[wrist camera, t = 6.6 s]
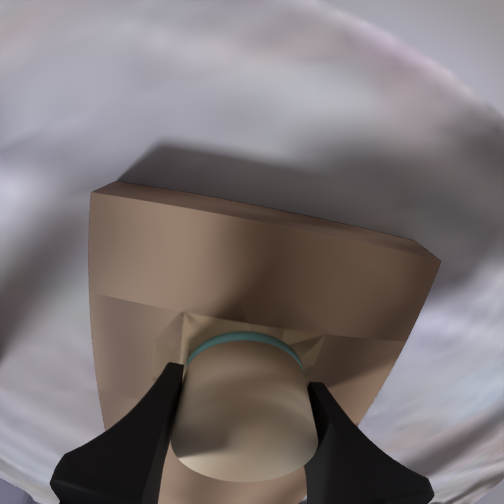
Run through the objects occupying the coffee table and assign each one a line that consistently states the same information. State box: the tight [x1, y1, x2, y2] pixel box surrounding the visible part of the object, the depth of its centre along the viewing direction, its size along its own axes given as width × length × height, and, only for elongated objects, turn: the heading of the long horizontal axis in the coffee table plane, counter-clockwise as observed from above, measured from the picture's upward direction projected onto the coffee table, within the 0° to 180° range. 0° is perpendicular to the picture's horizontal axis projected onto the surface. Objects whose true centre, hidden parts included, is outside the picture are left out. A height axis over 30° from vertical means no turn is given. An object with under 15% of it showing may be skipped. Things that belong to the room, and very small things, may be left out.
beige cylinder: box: [171, 331, 318, 482], centre depth 13 cm, size 5×5×6 cm
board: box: [88, 181, 441, 504], centre depth 16 cm, size 14×24×2 cm, turn 168°
